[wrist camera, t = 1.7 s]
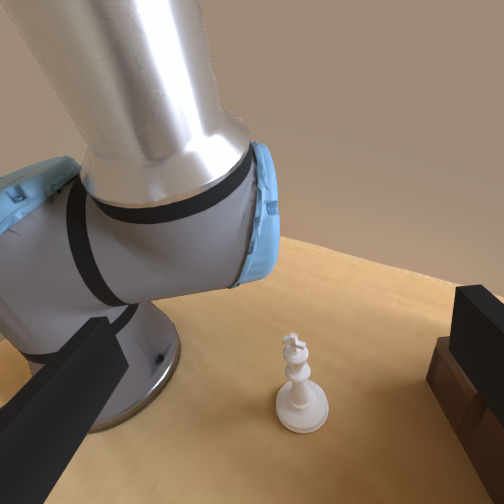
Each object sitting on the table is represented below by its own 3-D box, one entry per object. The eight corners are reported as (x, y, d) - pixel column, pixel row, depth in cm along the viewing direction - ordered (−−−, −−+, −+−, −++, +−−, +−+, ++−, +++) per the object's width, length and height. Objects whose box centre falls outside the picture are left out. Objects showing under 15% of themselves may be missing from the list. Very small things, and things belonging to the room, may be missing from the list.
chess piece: (288, 374, 31) (278, 305, 25) (335, 393, 28) (335, 321, 23) (266, 418, 27) (249, 350, 22) (317, 444, 25) (313, 374, 19)
